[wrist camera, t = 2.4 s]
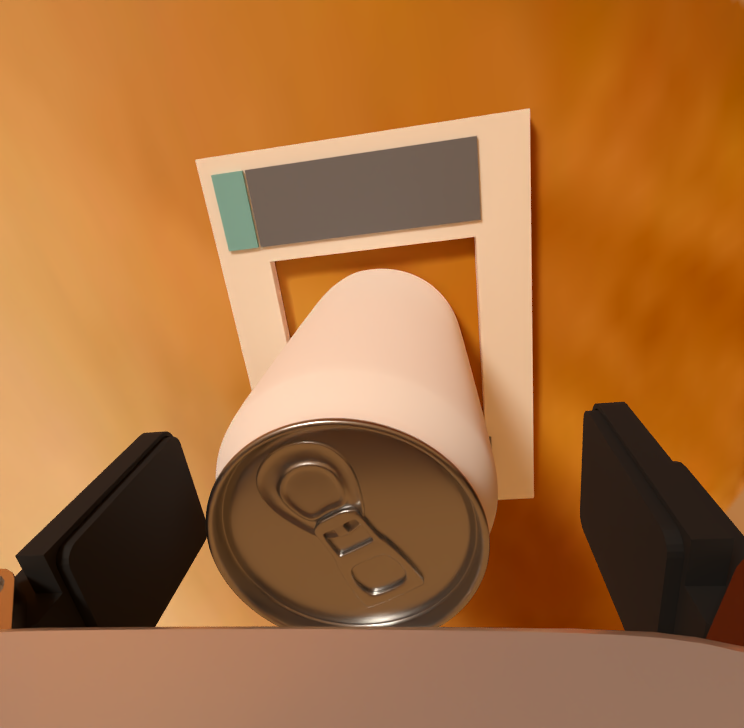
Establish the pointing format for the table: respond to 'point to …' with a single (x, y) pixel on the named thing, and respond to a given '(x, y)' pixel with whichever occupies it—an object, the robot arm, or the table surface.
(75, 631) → the robot arm
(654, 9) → the table surface
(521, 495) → the label board
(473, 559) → the can
